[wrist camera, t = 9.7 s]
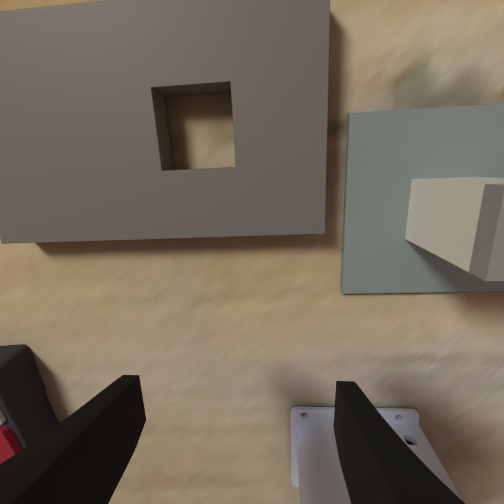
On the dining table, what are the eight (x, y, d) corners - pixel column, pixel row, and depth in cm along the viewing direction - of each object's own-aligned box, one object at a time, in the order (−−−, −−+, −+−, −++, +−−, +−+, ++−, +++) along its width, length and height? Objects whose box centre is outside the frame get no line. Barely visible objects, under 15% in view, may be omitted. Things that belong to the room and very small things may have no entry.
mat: (554, 101, 15) (562, 99, 15) (513, 288, 18) (518, 291, 18) (347, 114, 16) (349, 113, 16) (340, 291, 19) (341, 293, 19)
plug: (476, 176, 16) (617, 181, 10) (465, 237, 17) (586, 280, 11) (411, 179, 17) (505, 185, 10) (404, 238, 18) (485, 281, 11)
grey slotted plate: (323, 1, 15) (330, -23, 13) (319, 226, 18) (324, 233, 16) (-27, 35, 17) (-66, 17, 15) (28, 236, 20) (2, 243, 18)
